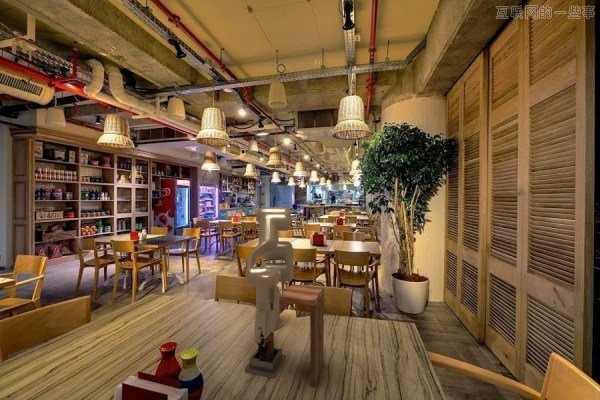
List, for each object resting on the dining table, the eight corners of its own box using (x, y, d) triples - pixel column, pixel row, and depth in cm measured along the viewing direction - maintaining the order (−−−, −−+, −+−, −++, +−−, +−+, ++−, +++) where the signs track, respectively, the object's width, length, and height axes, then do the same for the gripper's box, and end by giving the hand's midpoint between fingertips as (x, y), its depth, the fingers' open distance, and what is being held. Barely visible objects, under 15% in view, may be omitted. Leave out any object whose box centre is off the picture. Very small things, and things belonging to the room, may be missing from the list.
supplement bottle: (274, 352, 109) (274, 324, 108) (273, 361, 103) (273, 331, 102) (259, 352, 108) (259, 324, 108) (257, 361, 102) (257, 332, 102)
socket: (259, 354, 113) (259, 343, 113) (286, 359, 109) (286, 348, 109) (244, 371, 101) (244, 360, 101) (274, 378, 98) (274, 366, 98)
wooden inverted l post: (292, 357, 111) (292, 284, 110) (323, 363, 107) (323, 287, 106) (279, 379, 97) (279, 296, 97) (314, 387, 93) (314, 300, 93)
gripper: (266, 295, 114) (266, 337, 115) (246, 312, 98) (246, 361, 98) (283, 297, 112) (283, 340, 113) (265, 315, 96) (265, 365, 96)
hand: (266, 350), depth 105 cm, fingers open, 6 cm apart
